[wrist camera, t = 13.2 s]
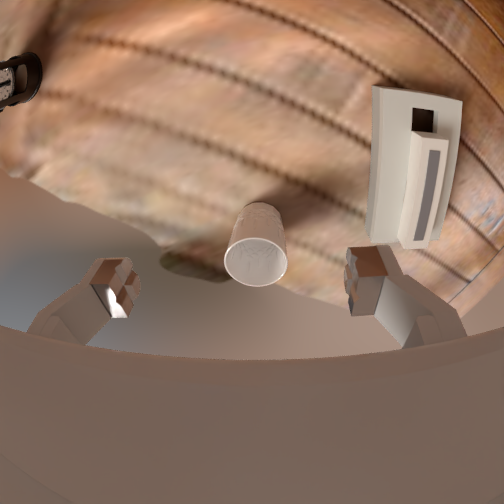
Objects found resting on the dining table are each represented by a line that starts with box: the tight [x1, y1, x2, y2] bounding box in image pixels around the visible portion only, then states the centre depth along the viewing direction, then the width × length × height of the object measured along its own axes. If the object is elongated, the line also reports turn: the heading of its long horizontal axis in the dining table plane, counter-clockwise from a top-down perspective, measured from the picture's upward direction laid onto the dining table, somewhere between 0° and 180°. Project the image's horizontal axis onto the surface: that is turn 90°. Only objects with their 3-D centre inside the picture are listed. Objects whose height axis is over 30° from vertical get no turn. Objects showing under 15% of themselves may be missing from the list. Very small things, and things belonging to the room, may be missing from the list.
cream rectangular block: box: [397, 131, 449, 249], centre depth 32 cm, size 16×4×6 cm, turn 7°
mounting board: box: [365, 85, 462, 243], centre depth 33 cm, size 22×12×4 cm, turn 7°
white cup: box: [224, 202, 288, 286], centre depth 39 cm, size 8×8×10 cm
